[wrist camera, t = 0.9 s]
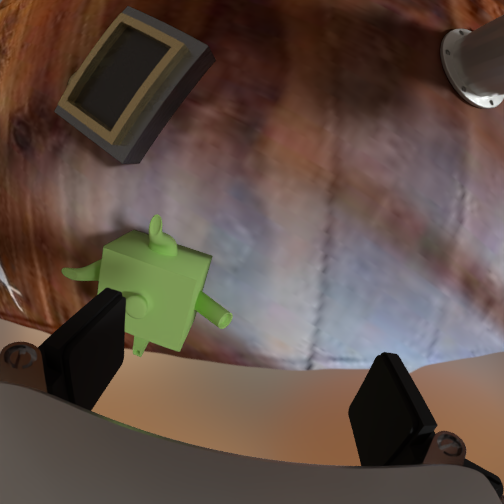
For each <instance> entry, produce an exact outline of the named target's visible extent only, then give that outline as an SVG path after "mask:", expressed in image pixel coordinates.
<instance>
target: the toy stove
mask: <svg viewBox="0 0 504 504" xmlns="http://www.w3.org/2000/svg"><path fill="white" fill-rule="evenodd" d="M215 61H216V59H215V57H214V56H213V54H212V52H211V50H210V48H209V46H207V45H206V44H204V43H202V42H200V41H199V40H197V39H195V38H193V37H191V36H189V35H187V34H186V33H184V32H182V31H180V30H178V29H176V28H174V27H172V26H170V25H168V24H166V23H164V22H162V21H160V20H158V19H156V18H154V17H151V16H149V15H147V14H145V13H143V12H140V11H138V10H136V9H134V8H131V7H129V6H127V7H126V9H125V10H124V11H123V12H122V13H120V14H119V16H118V17H117V18H116V19H115V20H114V22H113V23H112V24H111V25H110V27H109V28H108V29H107V30H106V32H105V33H104V34H103V36H102V37H101V38H100V40H99V41H98V42H97V44H96V45H95V46H94V48H93V49H92V50H91V52H90V53H89V55H88V56H87V58H86V59H85V61H84V62H83V63H82V65H81V66H80V68H79V69H78V71H76V72H75V73H74V74H73V75H72V76H71V78H70V79H69V81H68V84H67V89H66V90H65V92H64V94H63V95H62V97H61V99H60V101H59V102H58V106H57V108H56V109H55V111H54V112H55V113H57V114H58V115H59V116H61V117H62V118H63V119H64V120H66V121H67V122H68V123H70V124H71V125H72V126H74V127H75V128H76V129H78V130H79V131H80V132H81V133H83V134H84V135H85V136H87V137H88V138H89V139H91V140H92V141H93V142H95V143H96V144H97V145H98V146H100V147H101V148H102V149H104V150H105V151H106V152H108V153H109V154H110V155H112V156H113V157H114V158H116V159H117V160H118V161H119V162H121V163H122V164H130V163H140V162H141V160H142V159H143V157H144V156H145V154H146V153H147V151H148V150H149V148H150V147H151V145H152V144H153V142H154V141H155V139H156V138H157V136H158V135H159V133H160V132H161V131H162V129H163V128H164V126H165V125H166V123H167V122H168V121H169V119H170V118H171V117H172V115H173V114H174V112H175V111H176V110H177V108H178V107H179V106H180V104H181V103H182V102H183V100H184V99H185V98H186V96H187V95H188V94H189V93H190V91H191V90H192V89H193V87H194V86H195V85H196V84H197V82H198V81H199V80H200V79H201V77H202V76H203V75H204V74H205V73H206V71H207V70H208V69H209V68H210V67H211V65H212V64H213V63H214V62H215Z"/></svg>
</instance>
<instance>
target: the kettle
mask: <svg viewBox="0 0 504 504" xmlns="http://www.w3.org/2000/svg"><path fill="white" fill-rule="evenodd" d="M211 260H212V256H211V255H208V254H205V253H202V252H199V251H196V250H193V249H190V248H187V247H184V246H181V245H178V244H176V241H175V240H174V239H173V238H172V237H171V236H170V235H168V234H166V233H163V232H162V219H161V217H160V216H159V215H155V216H154V217H153V218H152V220H151V222H150V225H149V235H148V234H145V233H142V232H139V231H136V230H133V231H131V232H129V233H127V234H125V235H123V236H121V237H119V238H117V239H116V240H114V241H112V242H110V243H108V244H106V245H105V246H104V247H103V253H102V259H100V260H98V261H96V262H94V263H92V264H90V265H88V266H86V267H83V268H76V269H75V268H63V269H62V270H61V271H62V274H63V275H64V276H66V277H67V278H69V279H72V280H78V281H99V284H98V293H97V295H98V294H99V293H100V292H102V291H103V290H104V289H105V288H111V289H114V290H117V291H120V292H122V296H123V297H125V298H126V312H125V332H127V333H129V334H132V335H134V346H133V354H134V355H137V356H139V357H141V356H142V354H143V352H144V350H145V348H146V346H147V344H148V342H149V341H150V342H153V343H155V344H158V345H161V346H164V347H167V348H169V349H172V350H175V351H179V352H180V350H181V347H182V345H183V343H184V341H185V339H186V337H187V334H188V332H189V330H190V328H191V326H192V324H193V321H194V319H195V316H196V313H197V312H199V313H200V314H201V315H203V316H204V317H205V318H207V319H208V320H209V321H211V322H212V323H213V324H215V325H216V326H217V327H219V328H220V329H223V328H225V327H227V326H228V325H229V324H230V322H231V320H232V314H231V313H230V312H229V311H227V310H226V309H225V308H223V307H222V306H221V305H219V304H218V303H217V302H215V301H214V300H213V299H211V298H210V297H209V296H207V295H206V294H205V293H203V292H202V291H203V288H204V284H205V280H206V277H207V273H208V270H209V267H210V263H211Z"/></svg>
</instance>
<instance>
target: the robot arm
mask: <svg viewBox="0 0 504 504" xmlns="http://www.w3.org/2000/svg"><path fill="white" fill-rule="evenodd" d="M440 54H441V61H442V65H443V68H444V71H445V73H446V75H447V77H448V79H449V81H450V83H451V84H452V86H453V87H454V89H455V90H456V91H457V92H458V93H459V95H460V96H461V97H462V98H464V99H465V100H466V101H467V102H469V103H470V104H471V105H473V106H476V107H478V108H482V109H490V108H494V107H496V106H498V105H499V104H500V103H501V102H502V100H503V98H504V15H502V16H500V17H498V18H496V19H495V20H493V21H491V22H489V23H487V24H485V25H483V26H481V27H480V28H478V29H476V30H474V31H469V30H467V29H454V30H452V31H450V32H449V33H447V34H446V35H445V37H444V38H443V40H442V43H441V48H440ZM125 312H126V298H125V297H123V296H122V292H120V291H117V290H114V289H111V288H105V289H104V290H103V291H102V292H100V293H99V294H98V295H97V296H96V297H94V298H93V299H92V300H91V301H90V302H89V303H87V304H86V305H85V306H84V307H83V308H82V309H80V310H79V311H78V312H77V313H76V314H75V315H73V316H72V317H71V318H70V319H69V320H68V321H67V322H65V323H64V324H63V325H62V326H61V327H60V328H59V329H57V330H56V331H55V332H54V333H53V334H52V335H51V336H50V337H49V338H48V339H46V340H45V341H44V342H43V343H42V344H41V345H40V346H39V347H38V348H37V347H36V346H34V345H33V344H30V343H27V342H14V343H11V344H8V345H7V346H5V347H4V348H3V349H2V351H1V352H0V504H504V495H502V494H503V485H502V483H501V480H500V478H499V477H498V476H496V475H494V474H493V473H491V472H489V471H487V470H485V469H483V468H481V467H480V466H478V465H476V464H474V463H472V462H471V461H469V460H467V459H465V455H466V446H465V444H464V442H463V441H462V439H460V438H459V437H458V436H457V435H455V434H454V433H451V432H448V431H441V432H438V433H436V434H435V432H434V429H435V428H436V427H437V424H436V421H435V420H434V418H433V416H432V414H431V412H430V410H429V409H428V407H427V405H426V403H425V401H424V399H423V397H422V396H421V394H420V392H419V390H418V388H417V387H416V385H415V383H414V381H413V380H412V378H411V376H410V374H409V373H408V371H407V369H406V367H405V366H404V364H403V362H402V361H401V359H400V357H399V356H398V355H397V354H393V353H387V352H383V353H382V354H381V355H378V356H377V357H376V358H375V360H374V362H373V364H372V366H371V368H370V370H369V372H368V374H367V376H366V378H365V380H364V382H363V384H362V385H361V387H360V389H359V391H358V393H357V395H356V396H355V398H354V400H353V402H352V403H351V405H350V407H349V412H348V414H349V419H350V422H351V426H352V430H353V434H354V438H355V442H356V446H357V449H358V454H359V458H360V462H361V466H335V465H317V464H304V463H293V462H285V461H277V460H268V459H262V458H256V457H249V456H243V455H238V454H233V453H228V452H223V451H218V450H213V449H209V448H205V447H200V446H196V445H192V444H188V443H184V442H181V441H177V440H173V439H170V438H166V437H162V436H159V435H156V434H153V433H150V432H146V431H144V430H141V429H137V428H135V427H132V426H129V425H126V424H124V423H121V422H118V421H115V420H112V419H110V418H107V417H105V416H102V415H99V414H97V413H95V412H92V411H91V410H92V409H93V407H94V405H95V404H96V402H97V401H98V399H99V398H100V396H101V395H102V393H103V392H104V390H105V389H106V387H107V386H108V384H109V383H110V381H111V380H112V378H113V377H114V375H115V374H116V372H117V371H118V369H119V368H120V366H121V365H122V363H123V359H124V335H125Z"/></svg>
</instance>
